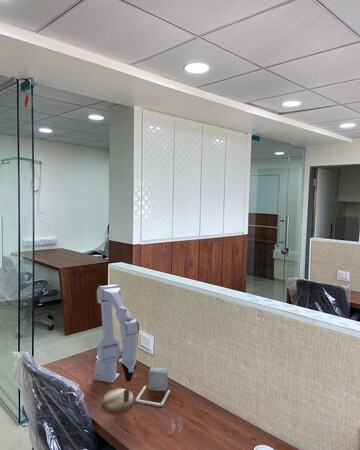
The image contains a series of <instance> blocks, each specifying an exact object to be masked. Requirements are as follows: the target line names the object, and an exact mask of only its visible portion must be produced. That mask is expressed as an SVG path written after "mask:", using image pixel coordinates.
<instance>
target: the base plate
mask: <svg viewBox="0 0 360 450" xmlns="http://www.w3.org/2000/svg"><path fill="white" fill-rule="evenodd" d="M102 402H103V403H102V404H103V407H104V408H105V409H107V410H109V411H112V412H121V411H125V410H128V409H130V408H131V407H132V406H133V404H134V403H135V400H133V403H132V404H131V405H130V406H129V407H127V408H124V409H119V410H115V409H110V408H108V407H106V406H105V405H104V401H102Z"/></svg>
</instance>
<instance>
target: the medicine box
mask: <svg viewBox="0 0 360 450" xmlns="http://www.w3.org/2000/svg"><path fill="white" fill-rule="evenodd" d="M168 370H169V369H168V368H164V367H151V366H150V369H149V371H148V390H149V391H157V392H158V391H159V392H167V390H168V389H167V388H168V372H169V371H168Z"/></svg>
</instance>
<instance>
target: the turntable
mask: <svg viewBox="0 0 360 450" xmlns="http://www.w3.org/2000/svg"><path fill="white" fill-rule="evenodd" d="M133 401H134V393H133V392H132V391H131V390H129V389H127V388H126V389H125V388H114V389H111V390H108V391H107V392H106V393H105V394H104V395H103V402H104V405H105V406H106V407H108V408H110V409H115V410H119V409H124V408H127V407H129V406H130V405H131V404H132V403H133V404H134V402H133ZM104 405H103V406H104Z"/></svg>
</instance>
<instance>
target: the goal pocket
mask: <svg viewBox="0 0 360 450" xmlns="http://www.w3.org/2000/svg"><path fill="white" fill-rule="evenodd" d="M147 388H148V387H147V385H144V386H143V387H142V389H141V391H140V392H139V393H138V395H137V397H135V399H134V403H136V404H144V405H148V406H155V407H159V408H160V407H161V408H163V407H164V405H165V403H166V401H167V399H168V397H169V395H170V393H171V390H170V389H167V390H166V392H165V395H164V397H163V398H162V401H161V402H155V401H150V400H144V399H141V397H142V396H143V395H144V392H145V391H146V390H147Z"/></svg>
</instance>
